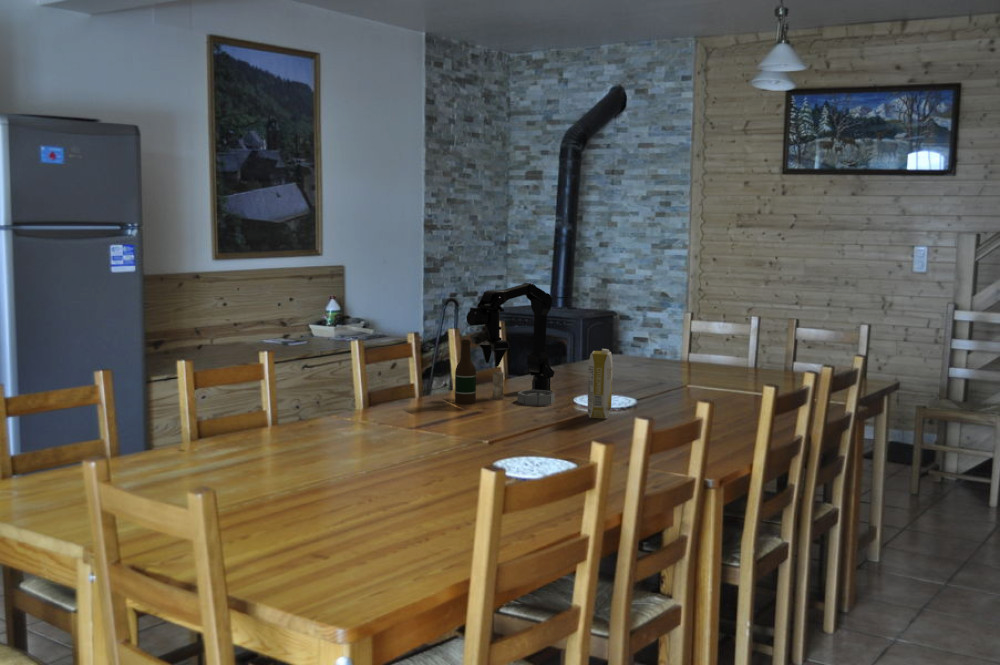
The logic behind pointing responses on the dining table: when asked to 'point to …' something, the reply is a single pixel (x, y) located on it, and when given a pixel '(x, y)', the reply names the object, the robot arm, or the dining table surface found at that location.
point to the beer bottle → (465, 377)
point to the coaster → (498, 399)
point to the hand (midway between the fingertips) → (491, 364)
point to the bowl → (536, 397)
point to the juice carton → (600, 384)
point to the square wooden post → (498, 385)
